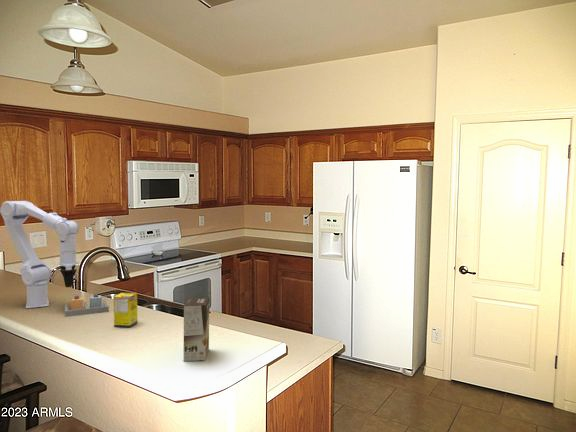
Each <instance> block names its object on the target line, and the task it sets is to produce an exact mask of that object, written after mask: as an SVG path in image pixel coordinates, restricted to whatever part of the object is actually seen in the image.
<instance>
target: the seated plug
mask: <svg viewBox="0 0 576 432" xmlns="http://www.w3.org/2000/svg"><path fill="white" fill-rule="evenodd" d="M94 307H103V297H102V295H101V294H100V295H99V294H98V293H94V294H93V295H90V296H89V308H94Z"/></svg>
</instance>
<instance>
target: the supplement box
mask: <svg viewBox="0 0 576 432" xmlns="http://www.w3.org/2000/svg"><path fill="white" fill-rule="evenodd" d="M137 323H138V293H137V292H120V293H118V294H116V295H114V296H113V327H114V328H128V329H129V328H131V327H133V326H135V325H136V324H137Z"/></svg>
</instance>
